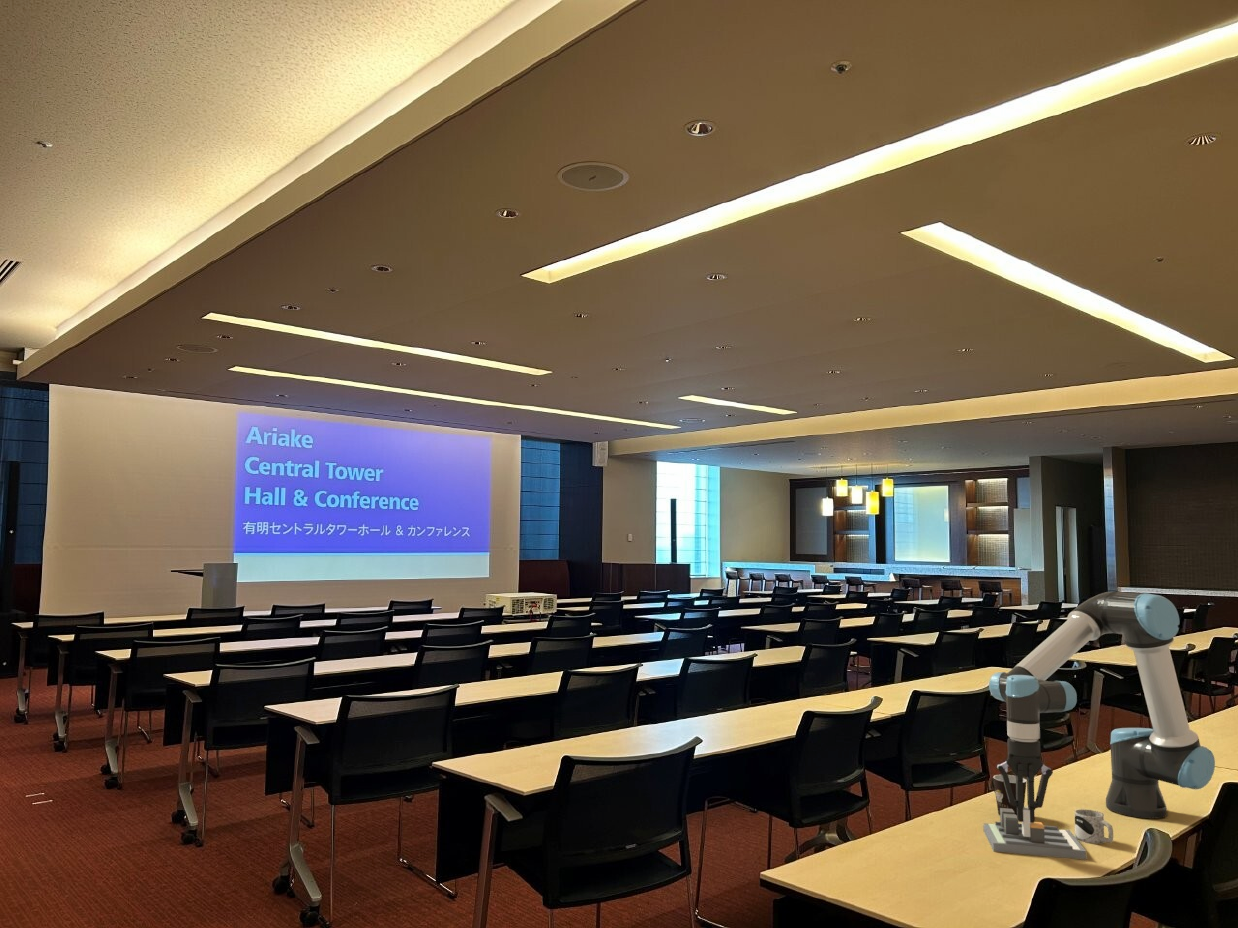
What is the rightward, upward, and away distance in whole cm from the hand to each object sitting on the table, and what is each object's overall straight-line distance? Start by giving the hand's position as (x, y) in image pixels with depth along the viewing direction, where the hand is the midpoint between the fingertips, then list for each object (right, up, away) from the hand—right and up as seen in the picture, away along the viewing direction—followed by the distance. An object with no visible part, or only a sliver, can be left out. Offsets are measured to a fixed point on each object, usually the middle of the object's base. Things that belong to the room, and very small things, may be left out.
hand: (1026, 834), depth 221 cm
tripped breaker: (+2, -2, -1) cm, 3 cm away
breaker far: (0, -2, +10) cm, 10 cm away
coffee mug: (+9, -6, +29) cm, 31 cm away
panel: (+3, -4, +4) cm, 7 cm away
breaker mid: (-1, -2, +5) cm, 6 cm away
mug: (+21, -5, +7) cm, 23 cm away
